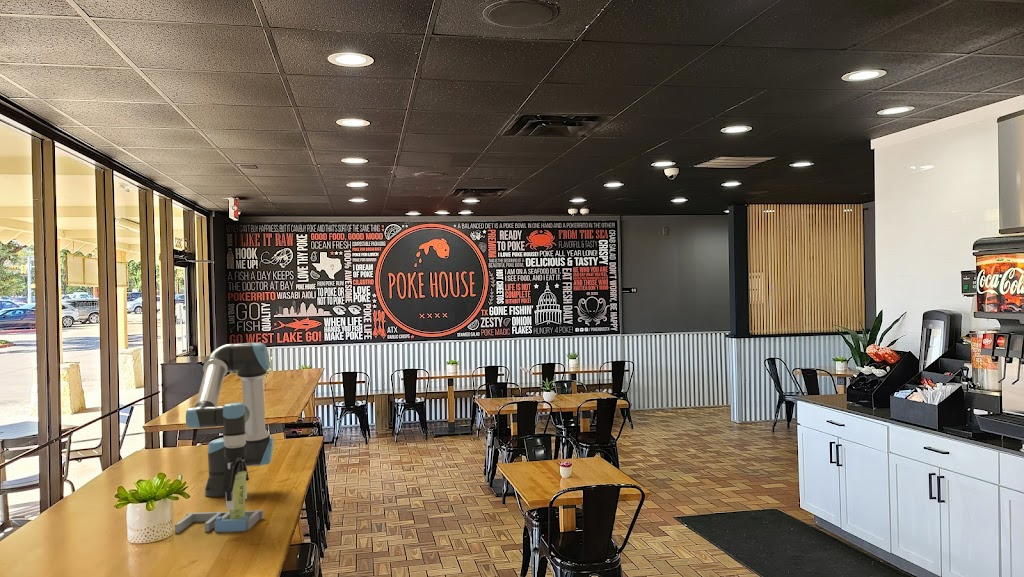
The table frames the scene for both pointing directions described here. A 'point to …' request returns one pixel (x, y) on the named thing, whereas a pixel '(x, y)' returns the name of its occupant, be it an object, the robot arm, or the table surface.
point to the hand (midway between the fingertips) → (236, 504)
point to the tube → (239, 496)
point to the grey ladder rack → (220, 521)
